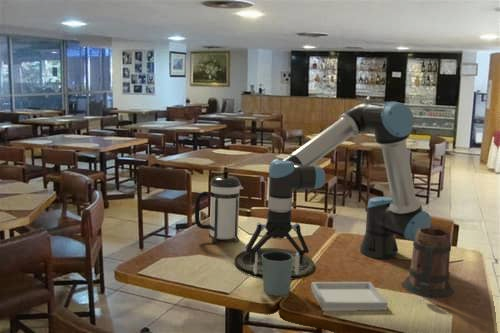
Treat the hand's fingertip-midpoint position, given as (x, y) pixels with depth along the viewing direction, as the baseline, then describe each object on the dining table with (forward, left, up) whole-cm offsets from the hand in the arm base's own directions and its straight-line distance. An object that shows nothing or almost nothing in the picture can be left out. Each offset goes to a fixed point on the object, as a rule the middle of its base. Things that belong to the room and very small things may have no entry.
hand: (275, 272), depth 162 cm
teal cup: (0, 0, -6) cm, 6 cm away
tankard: (-51, +1, -6) cm, 52 cm away
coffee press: (+16, -53, -6) cm, 56 cm away
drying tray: (-22, +7, -6) cm, 24 cm away
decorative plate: (-3, -24, -7) cm, 25 cm away
